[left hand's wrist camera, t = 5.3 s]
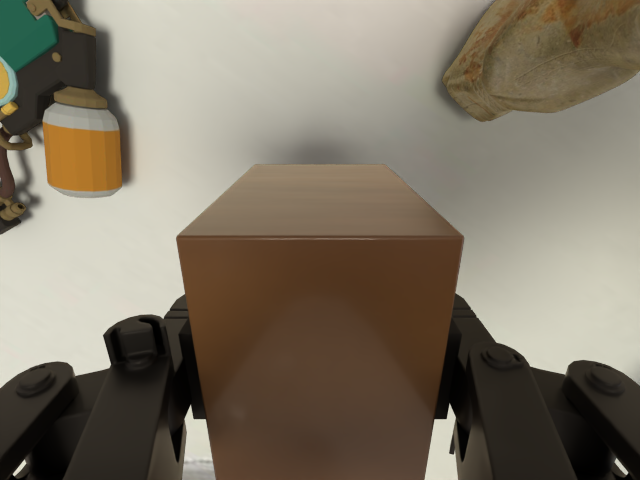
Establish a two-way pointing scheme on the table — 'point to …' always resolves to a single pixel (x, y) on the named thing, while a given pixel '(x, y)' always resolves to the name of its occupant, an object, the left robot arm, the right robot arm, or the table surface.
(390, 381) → the bar
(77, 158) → the spray gun
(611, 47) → the sculpture
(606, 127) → the table surface
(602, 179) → the table surface
